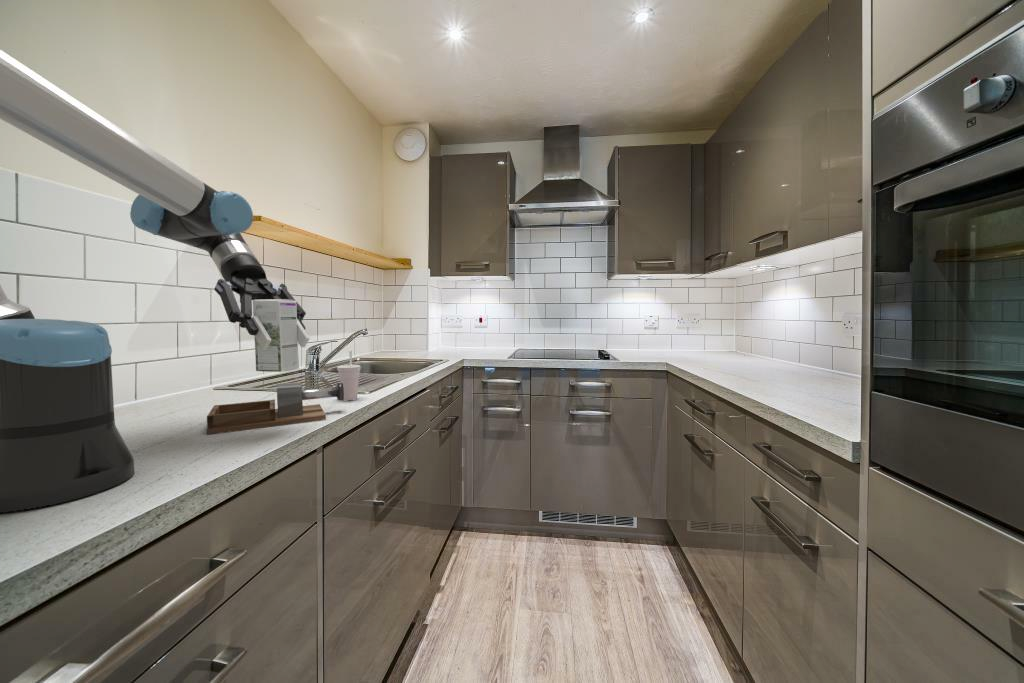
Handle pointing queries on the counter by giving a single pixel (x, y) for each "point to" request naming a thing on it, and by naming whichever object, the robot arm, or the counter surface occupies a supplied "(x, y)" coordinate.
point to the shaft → (324, 393)
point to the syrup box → (277, 335)
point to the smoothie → (349, 379)
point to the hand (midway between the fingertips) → (287, 343)
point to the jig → (264, 412)
